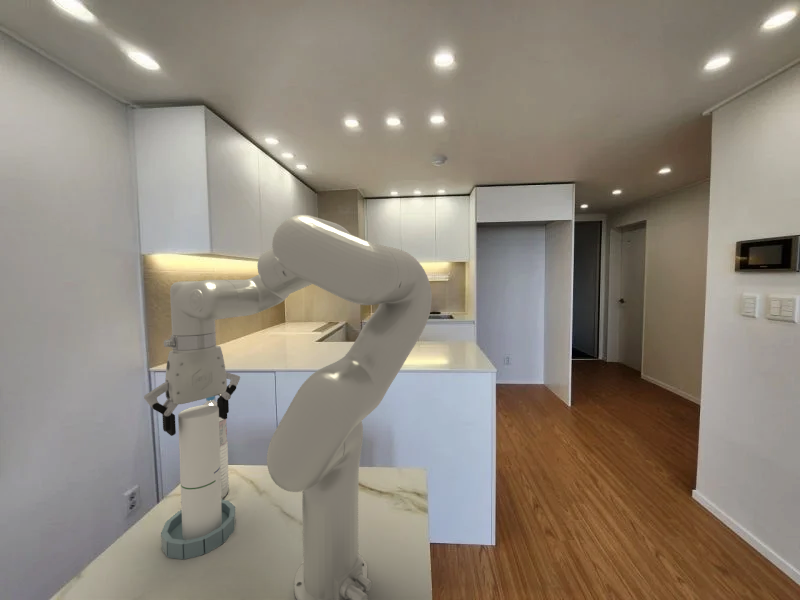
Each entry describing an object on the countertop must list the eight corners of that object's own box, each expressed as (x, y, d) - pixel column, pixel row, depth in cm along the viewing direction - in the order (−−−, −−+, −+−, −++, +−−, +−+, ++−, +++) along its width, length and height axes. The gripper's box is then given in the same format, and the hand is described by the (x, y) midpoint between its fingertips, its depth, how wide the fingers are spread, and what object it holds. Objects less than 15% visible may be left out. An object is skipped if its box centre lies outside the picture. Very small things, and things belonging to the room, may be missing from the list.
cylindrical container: (228, 517, 74) (226, 405, 72) (207, 542, 67) (203, 419, 65) (198, 515, 75) (194, 404, 73) (173, 540, 67) (169, 417, 66)
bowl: (246, 530, 72) (246, 516, 71) (176, 570, 62) (175, 555, 61) (219, 504, 80) (219, 492, 80) (153, 536, 70) (153, 522, 70)
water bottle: (200, 490, 85) (197, 393, 84) (230, 484, 87) (227, 389, 86) (194, 507, 79) (190, 402, 77) (227, 501, 81) (224, 398, 80)
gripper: (148, 351, 59) (153, 446, 60) (245, 338, 73) (248, 416, 74) (136, 346, 64) (140, 435, 65) (229, 335, 77) (232, 408, 78)
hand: (198, 425), depth 69 cm, fingers open, 9 cm apart
